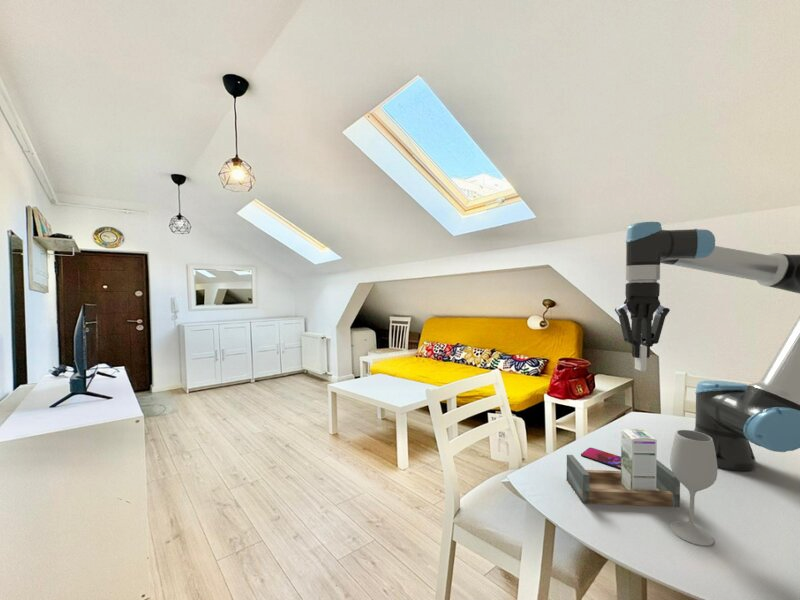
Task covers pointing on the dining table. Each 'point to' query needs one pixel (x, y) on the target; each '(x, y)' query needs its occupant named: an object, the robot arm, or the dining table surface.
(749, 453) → the robot arm
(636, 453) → the syrup box
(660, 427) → the dining table surface
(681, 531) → the wineglass
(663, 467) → the track
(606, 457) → the smartphone
